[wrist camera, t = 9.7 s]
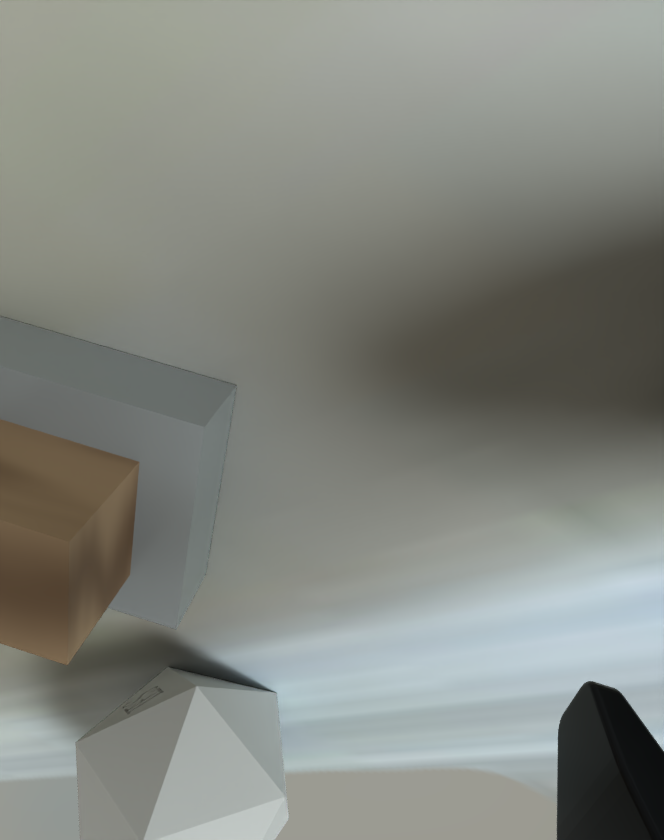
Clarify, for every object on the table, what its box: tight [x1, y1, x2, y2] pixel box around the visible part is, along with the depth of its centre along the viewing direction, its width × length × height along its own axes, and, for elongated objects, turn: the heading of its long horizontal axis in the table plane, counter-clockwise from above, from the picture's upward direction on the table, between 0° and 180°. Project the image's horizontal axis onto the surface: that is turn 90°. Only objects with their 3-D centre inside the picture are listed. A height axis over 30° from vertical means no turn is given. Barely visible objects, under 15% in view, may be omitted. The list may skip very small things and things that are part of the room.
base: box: [0, 316, 237, 629], centre depth 22 cm, size 9×9×3 cm
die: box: [76, 667, 289, 840], centre depth 26 cm, size 8×9×10 cm
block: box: [0, 419, 139, 665], centre depth 19 cm, size 5×5×4 cm
